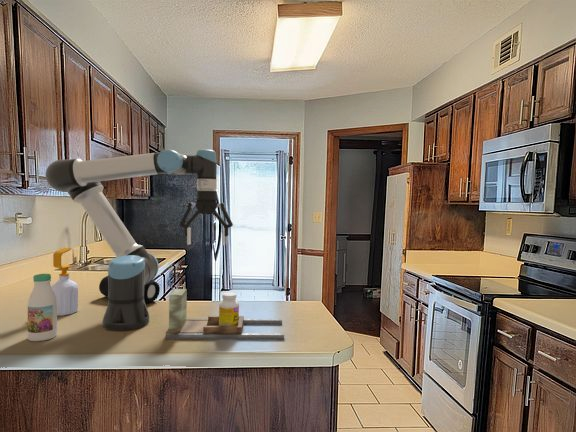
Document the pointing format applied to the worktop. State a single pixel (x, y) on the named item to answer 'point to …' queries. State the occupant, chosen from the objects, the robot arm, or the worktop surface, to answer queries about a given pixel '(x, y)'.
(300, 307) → the worktop surface
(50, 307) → the milk bottle
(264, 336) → the lane rails
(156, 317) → the worktop surface
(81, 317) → the worktop surface
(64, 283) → the soap bottle
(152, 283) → the portable speaker
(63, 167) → the robot arm
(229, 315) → the supplement bottle
